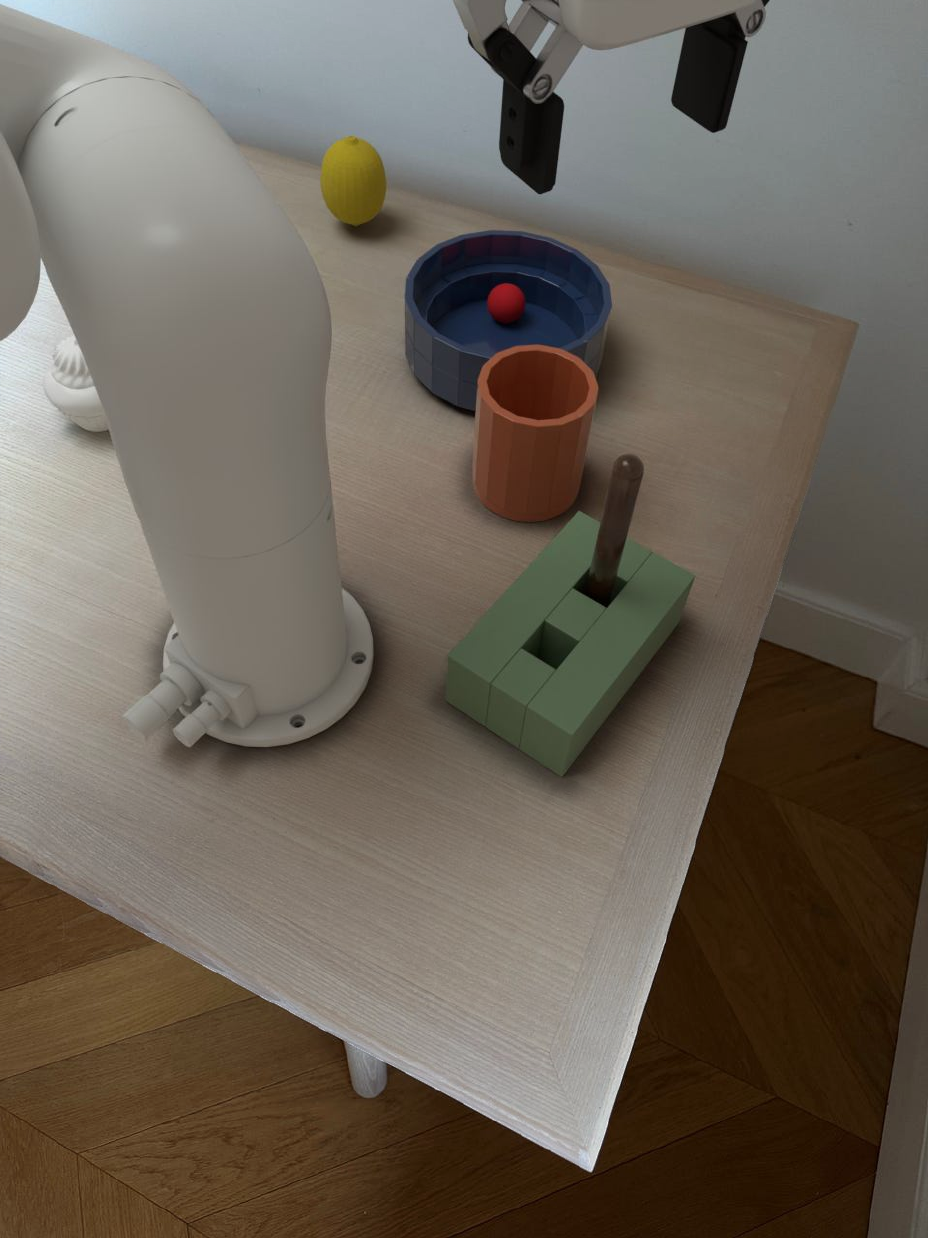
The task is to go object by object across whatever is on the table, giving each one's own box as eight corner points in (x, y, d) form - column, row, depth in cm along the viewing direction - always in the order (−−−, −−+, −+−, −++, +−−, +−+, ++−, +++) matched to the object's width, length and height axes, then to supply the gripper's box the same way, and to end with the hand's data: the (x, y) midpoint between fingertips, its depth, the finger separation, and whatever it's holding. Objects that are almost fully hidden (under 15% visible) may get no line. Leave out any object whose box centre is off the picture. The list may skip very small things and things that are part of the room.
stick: (592, 647, 63) (636, 474, 51) (571, 634, 64) (609, 460, 51) (605, 630, 64) (652, 456, 51) (584, 618, 65) (625, 442, 52)
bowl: (528, 453, 73) (536, 390, 68) (366, 365, 78) (362, 300, 73) (635, 345, 80) (649, 281, 75) (481, 271, 85) (484, 206, 80)
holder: (678, 622, 65) (696, 575, 60) (561, 777, 58) (572, 735, 54) (569, 559, 67) (578, 510, 63) (445, 701, 61) (447, 655, 56)
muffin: (48, 403, 74) (17, 325, 68) (129, 378, 76) (106, 301, 70) (71, 458, 71) (41, 381, 65) (155, 431, 73) (133, 354, 67)
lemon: (391, 209, 90) (389, 121, 83) (382, 246, 87) (379, 158, 80) (330, 204, 90) (323, 116, 83) (318, 240, 87) (310, 152, 80)
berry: (509, 336, 79) (512, 304, 77) (478, 320, 80) (480, 288, 78) (531, 317, 81) (534, 285, 78) (500, 302, 82) (503, 270, 79)
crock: (540, 539, 68) (555, 443, 61) (450, 488, 71) (454, 390, 63) (599, 475, 72) (620, 377, 65) (512, 428, 74) (522, 329, 67)
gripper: (548, -327, 26) (503, 249, 40) (983, -385, 32) (813, 134, 46) (398, -391, 30) (405, 159, 44) (816, -433, 36) (704, 63, 50)
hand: (614, 146), depth 45 cm, fingers open, 9 cm apart
